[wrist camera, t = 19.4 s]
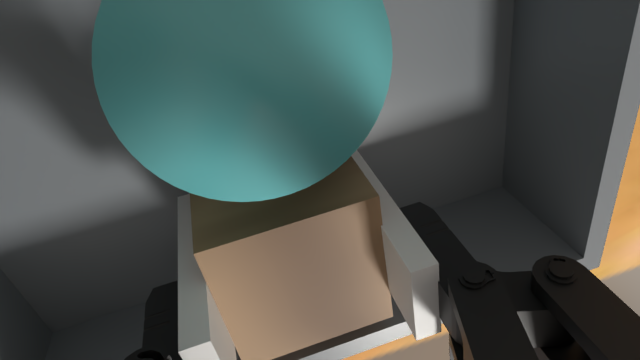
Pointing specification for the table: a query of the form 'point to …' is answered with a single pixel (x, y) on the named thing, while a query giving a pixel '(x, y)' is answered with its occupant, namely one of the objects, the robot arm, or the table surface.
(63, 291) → the tote
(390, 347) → the table surface
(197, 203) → the walnut cube
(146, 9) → the teal cylinder
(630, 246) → the table surface
